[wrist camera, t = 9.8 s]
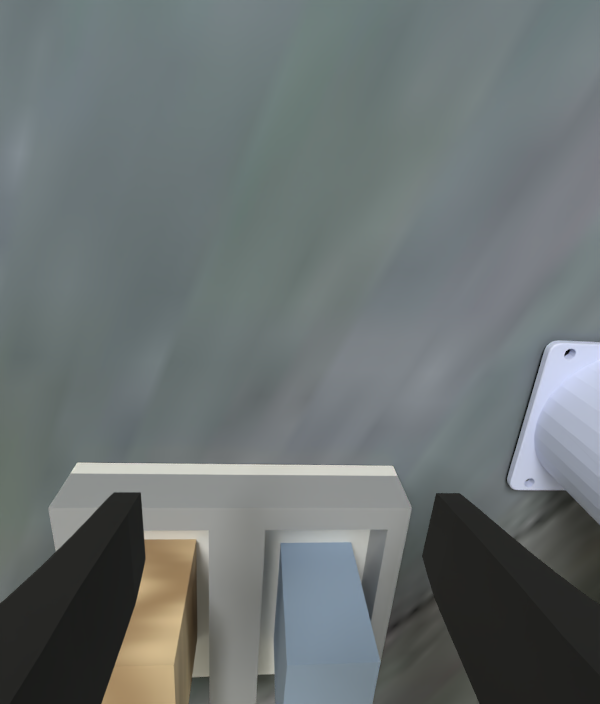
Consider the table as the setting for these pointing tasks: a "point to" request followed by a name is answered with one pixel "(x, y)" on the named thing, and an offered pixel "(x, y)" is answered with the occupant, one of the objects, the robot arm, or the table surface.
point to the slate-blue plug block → (322, 628)
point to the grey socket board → (251, 543)
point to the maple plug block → (160, 629)
